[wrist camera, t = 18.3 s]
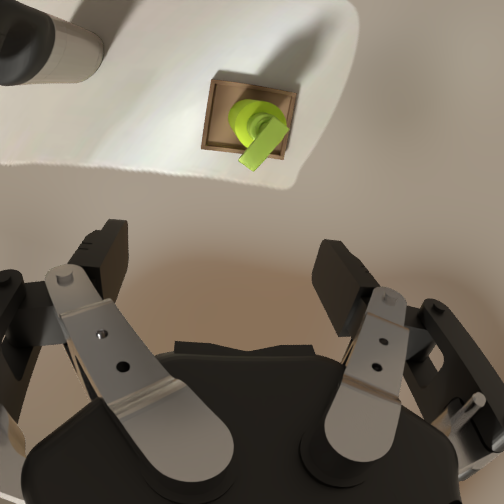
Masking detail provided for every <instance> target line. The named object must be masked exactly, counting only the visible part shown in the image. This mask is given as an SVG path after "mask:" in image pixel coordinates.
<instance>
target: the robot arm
mask: <svg viewBox="0 0 504 504" xmlns="http://www.w3.org/2000/svg"><path fill="white" fill-rule="evenodd" d="M103 53H104V48H103V43H102V41H101V39H100V38H99V37H98V36H97V35H96V34H95V33H92V32H90V31H88V30H86V29H84V28H82V27H79V26H77V25H75V24H72V23H70V22H67V21H65V20H63V19H60V18H58V17H55V16H52V15H50V14H47V13H44V12H42V11H39V10H37V9H34V8H32V7H29V6H27V5H24V4H22V3H20V2H18V1H16V0H0V85H2V86H13V85H26V84H47V83H79V82H82V81H84V80H86V79H88V78H89V77H91V76H92V75H93V74H94V73H95V72H96V70H97V69H98V67H99V66H100V64H101V62H102V58H103ZM128 259H129V253H128V223H127V221H126V220H116V219H109V220H108V221H107V222H106V224H105V225H104V227H103V228H102V230H95V231H93V232H92V233H90V234H88V235H87V236H86V237H85V239H84V240H83V241H82V244H80V246H79V247H78V249H77V250H76V251H75V253H74V254H73V256H72V257H71V259H70V260H69V262H68V263H67V264H64V265H60V266H57V267H54V268H52V269H51V270H50V271H48V272H47V274H46V275H45V281H40V282H31V283H24V280H23V277H22V274H21V273H20V272H19V271H17V270H12V269H10V270H3V271H0V497H1V498H3V499H6V500H9V501H11V502H14V503H17V504H462V501H461V497H460V491H459V481H464V480H466V479H468V478H469V477H470V476H472V475H473V474H475V473H476V472H477V471H479V470H480V469H482V468H483V467H484V466H485V465H487V464H488V463H489V462H491V461H492V460H493V459H494V458H496V457H497V456H498V455H499V454H501V453H502V452H503V451H504V383H503V382H502V380H501V379H500V377H499V376H498V374H497V373H496V371H495V370H494V368H493V367H492V365H491V364H490V362H489V361H488V360H487V358H486V357H485V355H484V354H483V352H482V351H481V350H480V348H479V347H478V346H477V344H476V343H475V341H474V340H473V339H472V338H471V336H470V335H469V333H468V332H467V331H466V330H465V328H464V327H463V326H462V324H461V323H460V322H459V320H458V319H457V318H456V317H455V315H454V314H453V313H452V312H451V310H450V309H449V308H448V307H447V306H446V305H444V304H443V303H441V302H440V301H437V300H435V299H425V300H424V302H423V304H422V306H421V308H420V309H419V308H415V307H411V306H407V302H406V300H405V298H404V297H403V296H402V295H401V294H400V293H398V292H397V291H395V290H393V289H391V288H387V287H381V286H380V285H379V284H378V283H377V281H376V280H375V279H374V277H373V276H372V275H371V274H370V273H369V271H368V270H367V268H365V266H364V265H363V263H362V262H361V261H360V260H359V259H358V258H357V257H355V256H354V255H353V254H351V253H350V252H349V250H348V249H347V248H346V247H345V245H344V244H343V243H342V242H341V241H336V240H327V239H324V240H323V241H322V243H321V245H320V248H319V251H318V255H317V258H316V261H315V264H314V268H313V271H312V284H313V286H314V288H315V290H316V292H317V294H318V296H319V298H320V300H321V302H322V304H323V306H324V308H325V310H326V312H327V315H328V317H329V319H330V320H331V323H332V325H333V327H334V329H335V331H336V333H337V335H338V337H346V336H347V337H349V336H351V340H350V342H349V344H348V346H347V348H346V351H345V353H344V355H343V358H342V360H341V362H340V363H339V362H337V361H335V360H333V359H330V358H327V357H324V356H320V355H316V354H315V352H314V349H313V346H312V345H279V346H274V347H269V348H264V349H259V350H253V351H242V350H238V349H233V348H228V347H224V346H220V345H215V344H211V343H197V342H181V341H175V346H174V351H173V352H167V353H162V354H158V355H156V356H154V355H153V354H152V353H151V352H150V350H149V349H148V348H147V346H146V345H145V344H144V343H143V341H142V340H141V339H140V337H139V336H138V335H137V334H136V332H135V331H134V330H133V328H132V327H131V326H130V324H129V323H128V322H127V320H126V319H125V317H124V316H123V315H122V313H121V312H120V311H119V309H118V308H117V306H116V305H115V302H116V299H117V296H118V293H119V291H120V288H121V285H122V282H123V280H124V277H125V274H126V272H127V267H128ZM4 335H6V336H5V338H4V340H3V342H2V339H3V337H4ZM54 344H62V345H63V348H64V350H65V352H66V354H67V357H68V359H69V361H70V363H71V365H72V367H73V369H74V371H75V373H76V375H77V377H78V379H79V381H80V383H81V385H82V387H83V390H84V392H85V394H86V396H87V398H88V400H89V402H90V403H89V404H88V405H86V406H85V407H84V408H82V409H81V410H80V411H79V412H77V413H76V414H75V415H74V416H73V417H71V418H70V419H68V420H67V421H66V422H65V423H63V424H62V425H61V426H60V427H58V428H57V429H56V430H55V431H53V432H52V433H51V434H49V435H48V436H47V437H46V438H44V439H43V440H42V441H41V442H39V443H38V444H37V445H36V446H35V447H34V448H33V449H32V450H31V451H30V452H29V454H28V455H27V457H26V452H25V446H26V445H25V444H26V442H25V436H24V434H23V432H22V430H21V429H20V427H19V426H18V425H17V424H18V420H19V416H20V413H21V409H22V405H23V402H24V398H25V395H26V391H27V388H28V385H29V382H30V378H31V376H32V373H33V370H34V367H35V364H36V361H37V358H38V355H39V353H40V350H41V347H42V346H45V345H54ZM436 344H437V346H438V347H439V349H440V350H441V352H442V353H443V356H444V364H443V366H442V368H441V369H440V371H439V372H437V370H436V368H435V366H434V365H433V363H432V361H431V360H430V358H429V354H430V353H431V351H432V350H433V348H434V347H435V345H436ZM402 376H404V378H405V380H406V382H407V384H408V387H409V389H410V391H411V393H412V395H413V397H414V398H415V401H416V403H417V405H418V407H419V409H420V411H421V414H422V416H423V418H424V419H422V418H421V417H419V416H418V415H416V414H415V413H413V412H412V411H410V410H409V409H407V408H406V407H404V406H403V405H401V401H400V400H399V391H400V387H401V381H402Z"/></svg>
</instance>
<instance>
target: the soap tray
mask: <svg viewBox="0 0 504 504" xmlns="http://www.w3.org/2000/svg"><path fill="white" fill-rule="evenodd" d="M296 95H297V93H292V92H288V91H283V90H278V89H273V88H267V87H262V86H256V85H250V84H243V83H237V82H230V81H222V80H214V79H211V84H210V90H209V96H208V103H207V109H206V116H205V123H204V129H203V137H202V144H201V149H204V150H214V151H223V152H231V153H239V154H243V153H244V152H245V150H246V149H247V147H245V146H244V145H243V144H242V143H241V142H240V141H239V139H238V138H237V136H236V135H235V133H234V131H233V130H232V128H231V127H230V125H229V121H228V114H229V111H230V109H231V107H232V106H233V105H234V104H235V103H237V102H238V101H241V100H244V99H251V100H258V101H265V102H269V103H272V104H274V105H275V106H277V107H278V108H279V109H280V110H281V111H282V113H283V114H284V116H285V119H286V125H287V127H288V128H289V130H290V125H291V120H292V115H293V110H294V105H295V100H296ZM288 135H289V131H288V132H287V133H286V135H285V136H284V138H283V139H282V141H281V142H280V143H279V144H278V145H277V146H276V147H275V148H274V150H273V151H272V152H271V153H270V154H269V156H268V158H274V159H280V160H284V155H285V150H286V145H287V140H288Z"/></svg>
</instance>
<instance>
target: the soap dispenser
mask: <svg viewBox="0 0 504 504" xmlns="http://www.w3.org/2000/svg"><path fill="white" fill-rule="evenodd" d="M228 121H229V125H230V127H231V128H232V130H233V131H234V133H235V135H236V136H237V138H238V139H239V141H240V142H241V143H242V144H243V145H244V146H245V147H247V149H246V150H245V152H244V153H243V154H242V155H241V156H240V158H239V160H238V161H239V162H241V163H242V164H243V165H245V166H246V167H247V168H249V169H250V170H252V171H255V170H256V169H257V168H258V167H259V166H260V165H261V163H262V162H263V161H264V160H265V159H266V158H267V157H268V156H269V154H270V153H271V152H272V151H273V150H274V148H275V147H276V146H277V145H278V144H279V143H280V142H281V141H282V139H283V138H284V136H285V135H286V133H287V132H288V131H289V128H288V127H287V125H286V119H285V116H284V114H283V113H282V111H281V110H280V109H279V108H278V107H277V106H275V105H274V104H272V103H269V102H265V101H258V100H251V99H244V100H241V101H238V102H237V103H235V104H234V105H233V106H232V107H231V109H230V111H229V114H228Z"/></svg>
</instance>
